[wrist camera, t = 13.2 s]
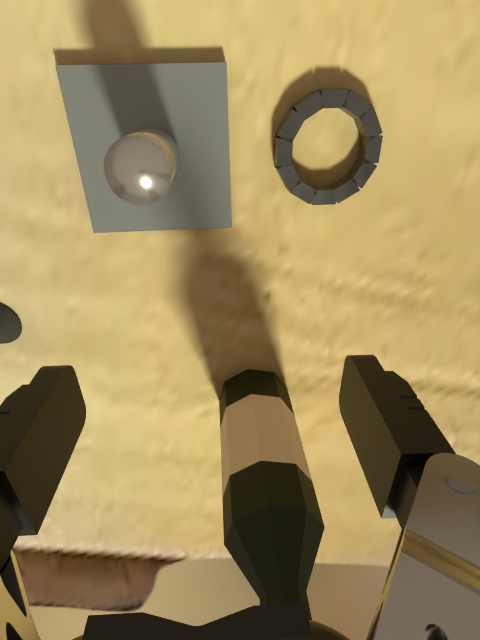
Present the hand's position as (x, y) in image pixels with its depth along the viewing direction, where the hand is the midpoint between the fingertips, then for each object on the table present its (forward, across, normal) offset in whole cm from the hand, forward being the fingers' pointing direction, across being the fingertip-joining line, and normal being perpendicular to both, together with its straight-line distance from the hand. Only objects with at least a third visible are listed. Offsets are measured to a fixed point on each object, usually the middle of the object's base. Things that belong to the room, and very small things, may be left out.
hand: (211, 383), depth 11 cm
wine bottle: (+25, -3, +23) cm, 34 cm away
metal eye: (+25, -9, -4) cm, 27 cm away
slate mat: (+24, +5, -4) cm, 25 cm away
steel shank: (+23, +5, -4) cm, 24 cm away
